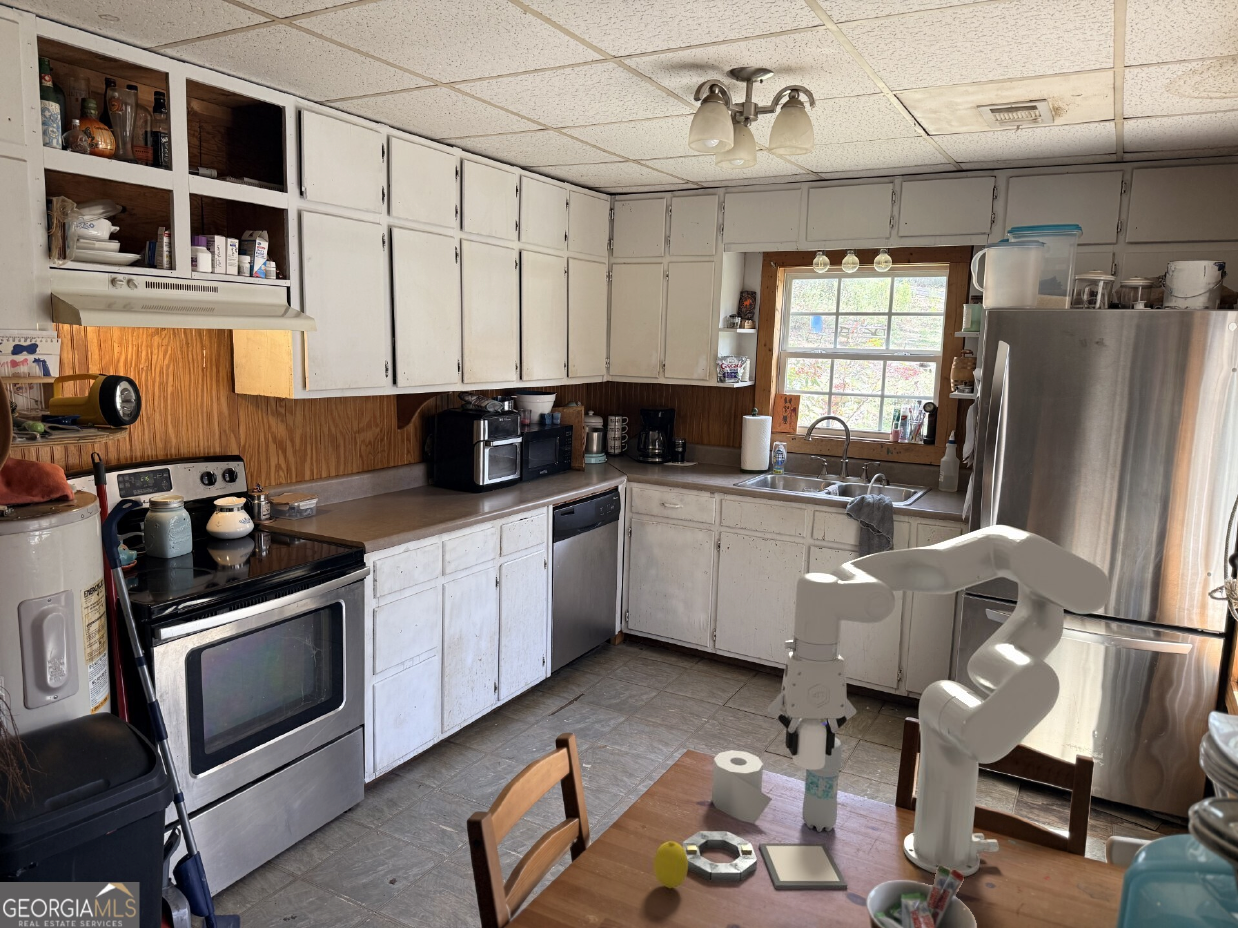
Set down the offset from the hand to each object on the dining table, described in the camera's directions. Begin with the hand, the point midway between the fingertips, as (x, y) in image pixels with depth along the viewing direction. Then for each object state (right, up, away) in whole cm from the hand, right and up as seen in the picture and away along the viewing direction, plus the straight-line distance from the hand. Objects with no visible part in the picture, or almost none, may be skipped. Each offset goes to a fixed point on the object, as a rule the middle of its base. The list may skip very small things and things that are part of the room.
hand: (809, 750), depth 139 cm
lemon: (-24, -21, -5) cm, 32 cm away
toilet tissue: (-9, -19, +21) cm, 30 cm away
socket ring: (-15, -20, +4) cm, 25 cm away
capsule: (0, -2, 0) cm, 2 cm away
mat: (-1, -21, +2) cm, 21 cm away
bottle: (+5, -20, +16) cm, 26 cm away
